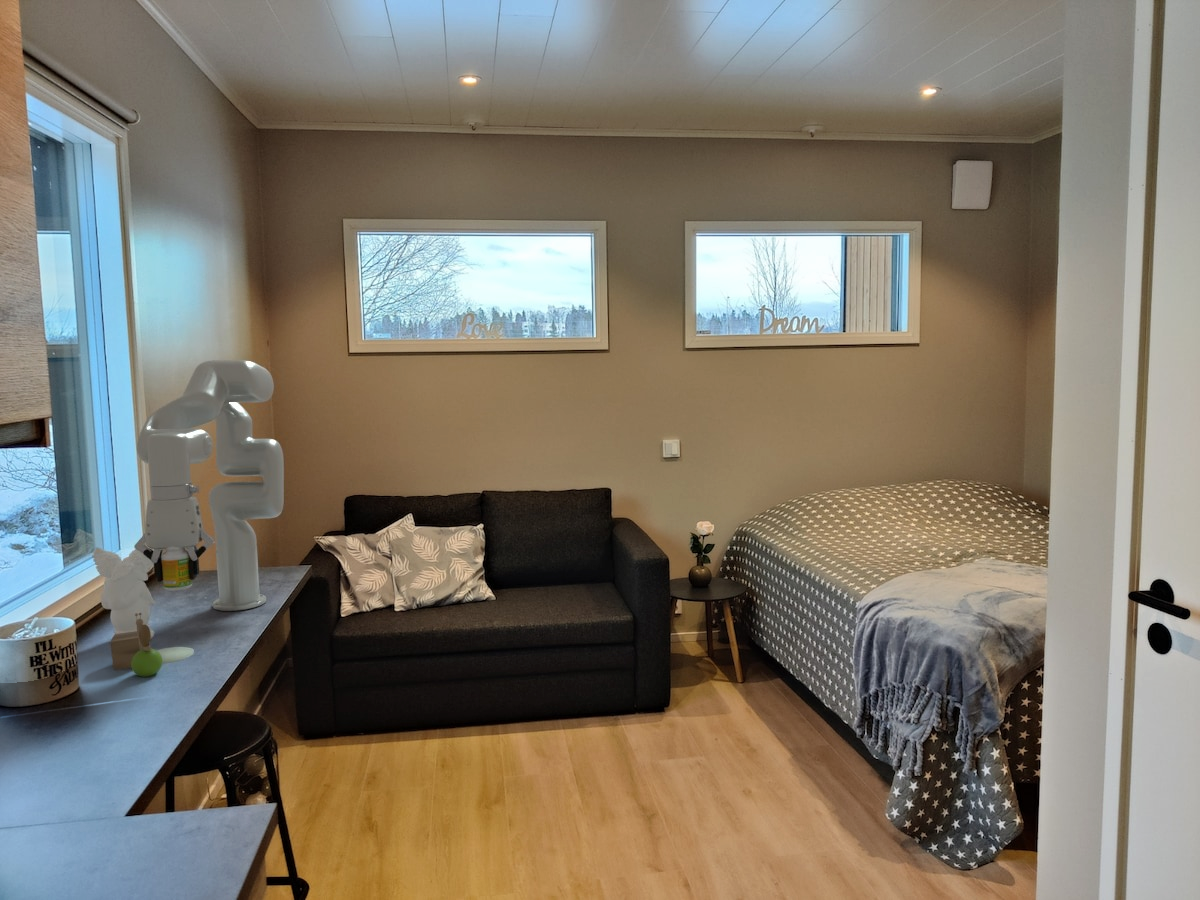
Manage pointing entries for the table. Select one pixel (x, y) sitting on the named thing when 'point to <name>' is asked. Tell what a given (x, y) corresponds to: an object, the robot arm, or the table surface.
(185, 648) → the felt coaster
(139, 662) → the snail figurine
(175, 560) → the supplement bottle
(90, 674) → the table surface
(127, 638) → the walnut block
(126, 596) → the cherub figurine
